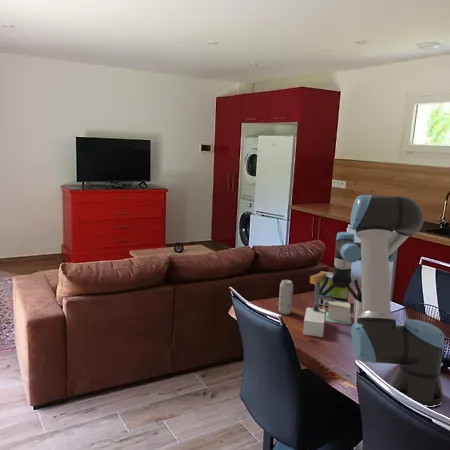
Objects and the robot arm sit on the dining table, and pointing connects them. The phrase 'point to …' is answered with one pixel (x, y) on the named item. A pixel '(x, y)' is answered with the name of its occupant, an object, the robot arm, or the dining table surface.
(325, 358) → the dining table surface
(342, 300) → the tea box
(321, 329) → the block
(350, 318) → the mat
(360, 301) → the travel mug
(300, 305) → the dining table surface
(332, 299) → the t key
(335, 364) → the dining table surface
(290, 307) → the energy drink can
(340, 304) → the cover
